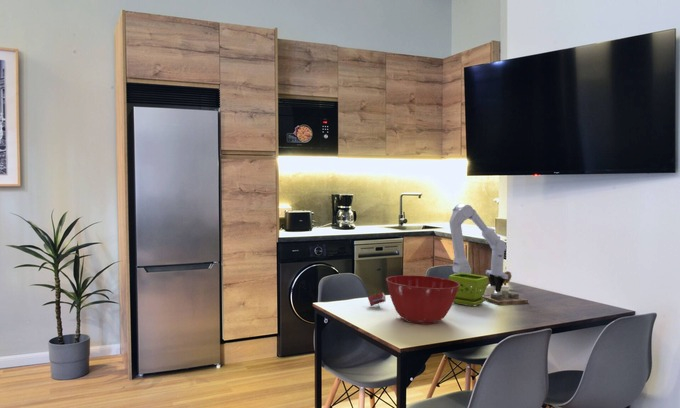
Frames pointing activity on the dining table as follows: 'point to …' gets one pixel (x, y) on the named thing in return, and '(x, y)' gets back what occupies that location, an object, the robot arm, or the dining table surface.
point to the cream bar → (491, 289)
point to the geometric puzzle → (377, 298)
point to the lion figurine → (506, 279)
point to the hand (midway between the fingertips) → (495, 291)
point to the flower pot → (469, 288)
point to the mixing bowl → (422, 297)
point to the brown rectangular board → (505, 298)
